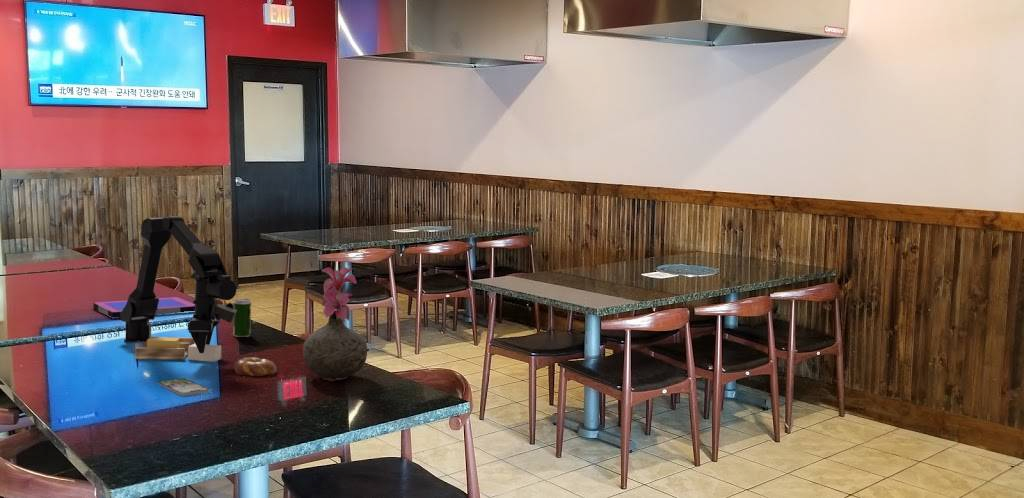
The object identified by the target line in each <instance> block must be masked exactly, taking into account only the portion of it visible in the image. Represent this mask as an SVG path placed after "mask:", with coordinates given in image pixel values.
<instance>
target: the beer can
mask: <svg viewBox="0 0 1024 498" xmlns="http://www.w3.org/2000/svg"><path fill="white" fill-rule="evenodd" d="M233 304H234V309H236V310H237V312H236V315H235V317H234V319H233V321H232V323H233V324H232V326H233V327H232V335H233V337H234V336H235V337H234V338H236V337H247V338H249V337H250V336H251V332H252V331H251V330H252V329H251V327H252V323H251V322H252V302H251V299H250V298H235V299H234V302H233Z"/></svg>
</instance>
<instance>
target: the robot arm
mask: <svg viewBox="0 0 1024 498" xmlns="http://www.w3.org/2000/svg"><path fill="white" fill-rule="evenodd" d="M171 236H172V237H173V238H174V239H175V240H176V242H177V243H178V245H180V246H181V248H182V249H183V251H184V252H185V253H186V254H187V255H188V259H187V262H188V263H189V265H190V267H191V269H192V271H193V272H194V273H193V274H191V275H190V279H194V299H193V304H195V313H192V314H193V315H192V318H191V320H190V321H189V322H188V323H187V331H188V332H189V334H190V336H191V338H193V340H194V342H195V344H196V346H197V348H198V351H199V353H204V349H205V345H206V344H207V345H211V341H212V337H213V334H214V333H213V332H214V329H215V327H216V326H217V325H218V324H219V323H221V320H223V321H225V322H227V323H231V324H232V323H233V319H234V317H235V315H236V312H237V310H236V309H234V303H233V302H230V300H232V299H234V297H235V296H236V294H237V286H236V283H235V282H234V281H233V280H231V275H228V273H227V268H226V267H225V266H224V262H223V260H222V258H221V256H220V254H219V252H217V251H216V250H214V248H212V247H210V246H208V245H205V244H204V243H203V242H201V240H200V239H199V238H198V237H197V236H196V235H195V233H194V232H193V230H192V229H191V228H190V227H189V226H188V225H187V223H185V220H184V217H182V216H180V215H179V216H178V215H177V216H172V215H171V216H166V217H165V216H164V217H146V218H145V219H143V221H142V222H141V226H140V237H141V239H142V242H143V243H144V247H143V253H142V258H141V262H140V267H139V272H138V278H137V284H136V287H135V288H134V290H132V292H131V293H130V294H129V295H128V298H127V300H128V301H127V300H126V301H127V304H126V306H125V307H124V309H123V310H122V312H121V313H120V318H121V319H120V321H121V322H124V323H125V338H124V339H123V342H130V343H131V342H139V343H141V342H142V343H143V342H147V340H148V337H152V324H151V323H150V321H153V320H155V318H156V316H155V314H156V310H158V302H159V299H158V298H159V297H157V295H156V294H155V291H154V290H155V285H156V280H157V276H158V270H159V266H160V260H161V256H162V250H163V248H164V246H166V245H167V244H168V242H169V241H170V239H171ZM219 300H223V301H229V302H227V303H226V304H221V303H219ZM216 319H217V320H216Z"/></svg>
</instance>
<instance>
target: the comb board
mask: <svg viewBox="0 0 1024 498" xmlns="http://www.w3.org/2000/svg"><path fill="white" fill-rule="evenodd" d="M150 338H180V348H147V341H146V342H142V343H141V347H135V360H185V359H186V358H187V357H188V346H190V345H193V344H195V342H194V340H193V338H192V336H191V337H189V336H187V337H185V336H177V337H176V336H175V337H172V336H151V337H148V339H150Z"/></svg>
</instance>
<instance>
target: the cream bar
mask: <svg viewBox="0 0 1024 498" xmlns="http://www.w3.org/2000/svg"><path fill="white" fill-rule="evenodd" d="M221 359H222V345H218V344H217V345H216V344H210V345H207V344H206V345H205V349H204V353H199V351H198V348H197V346H196V344H193V345H190V346H188V355H187V360H188V361H189V360H190V361H202V362H203V361H204V362H213V363H214V362H217V361H219V360H221Z"/></svg>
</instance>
